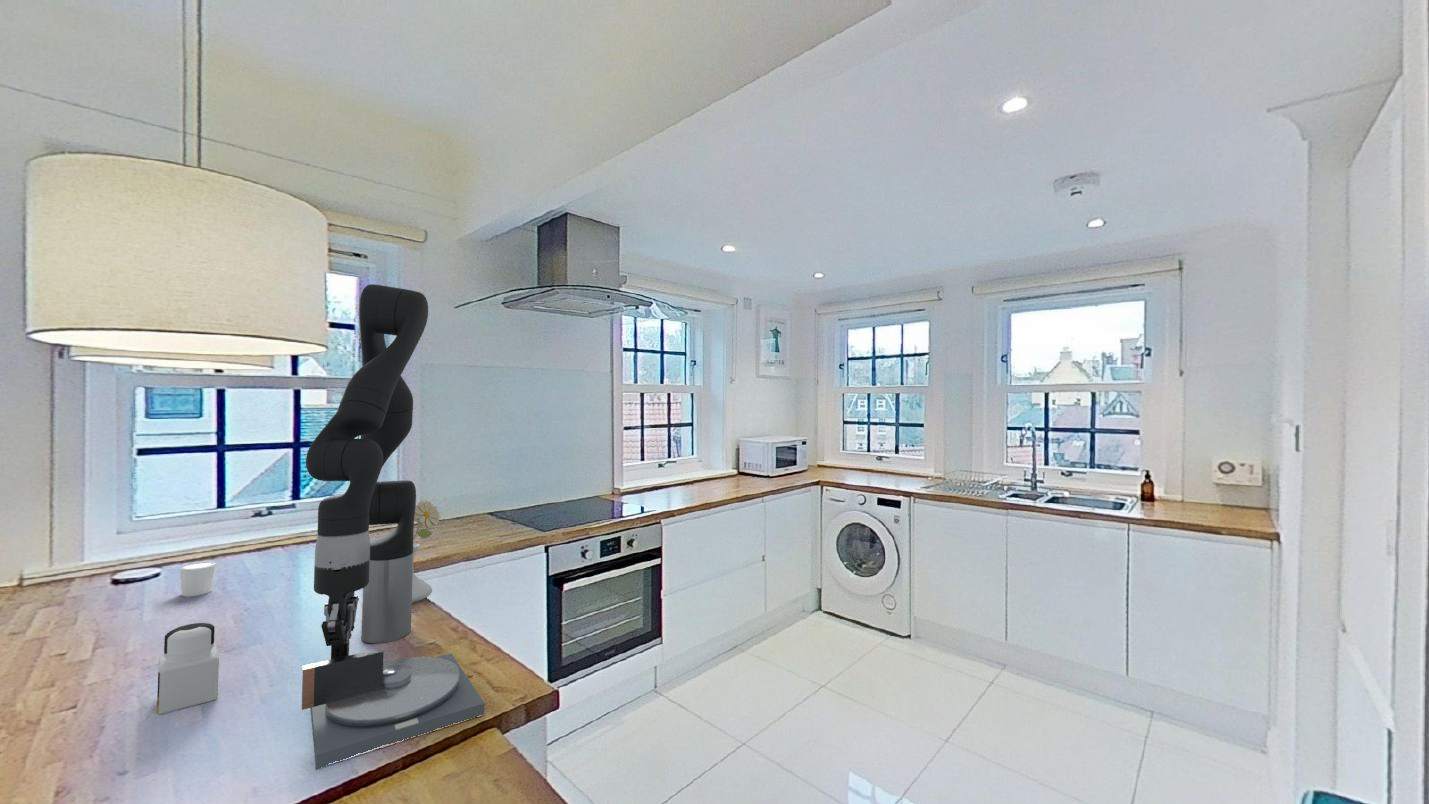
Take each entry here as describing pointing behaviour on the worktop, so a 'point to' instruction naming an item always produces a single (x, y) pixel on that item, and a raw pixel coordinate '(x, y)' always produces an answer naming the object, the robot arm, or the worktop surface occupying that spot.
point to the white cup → (197, 578)
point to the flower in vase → (426, 519)
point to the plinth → (391, 724)
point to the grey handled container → (188, 668)
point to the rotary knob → (377, 687)
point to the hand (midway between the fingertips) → (339, 665)
